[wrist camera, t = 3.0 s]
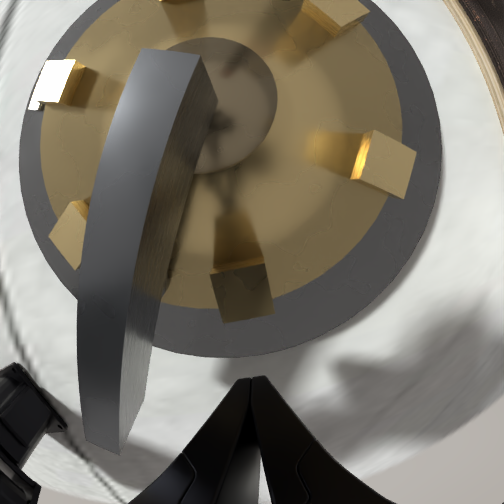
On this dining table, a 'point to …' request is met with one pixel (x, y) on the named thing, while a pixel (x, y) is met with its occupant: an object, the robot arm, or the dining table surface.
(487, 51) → the hardcover book
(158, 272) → the ring nut
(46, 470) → the dining table surface
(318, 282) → the base
